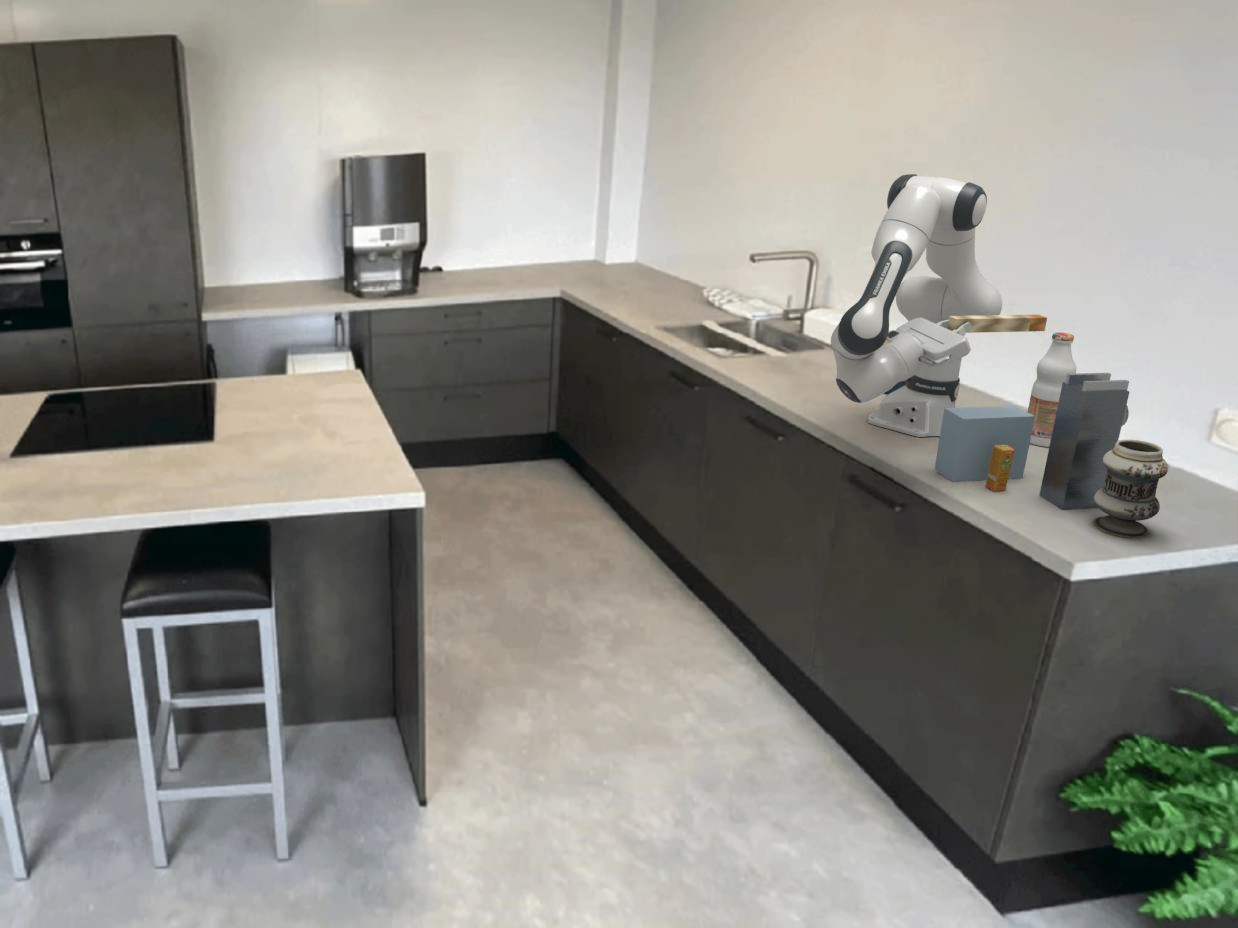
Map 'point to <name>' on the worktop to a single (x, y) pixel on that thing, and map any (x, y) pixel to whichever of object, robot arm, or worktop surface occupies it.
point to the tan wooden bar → (1000, 323)
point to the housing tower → (1083, 438)
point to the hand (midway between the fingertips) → (964, 322)
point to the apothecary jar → (1130, 487)
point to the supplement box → (1000, 467)
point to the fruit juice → (1050, 387)
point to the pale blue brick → (981, 440)
